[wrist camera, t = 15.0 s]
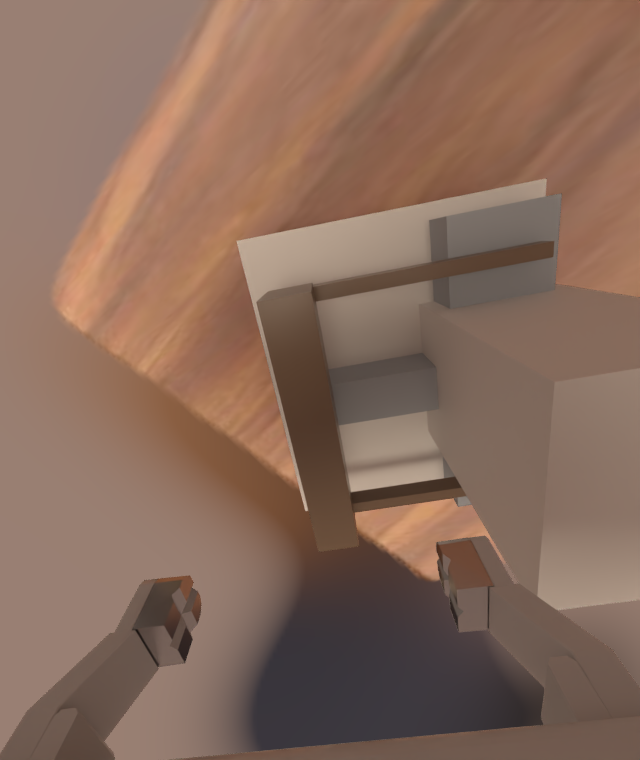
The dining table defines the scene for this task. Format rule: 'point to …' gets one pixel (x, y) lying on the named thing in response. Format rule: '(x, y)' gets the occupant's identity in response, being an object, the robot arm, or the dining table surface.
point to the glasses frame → (315, 396)
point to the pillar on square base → (482, 381)
